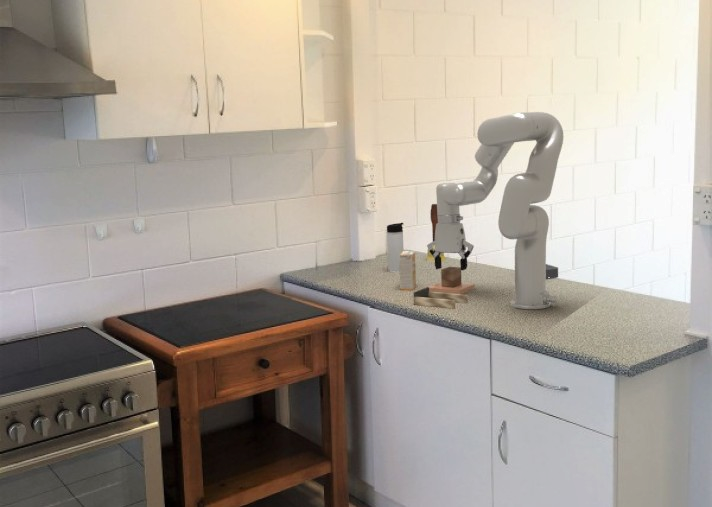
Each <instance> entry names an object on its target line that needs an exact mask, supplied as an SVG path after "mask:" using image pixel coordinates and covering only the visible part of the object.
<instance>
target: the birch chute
mask: <svg viewBox="0 0 712 507" xmlns="http://www.w3.org/2000/svg"><path fill="white" fill-rule="evenodd" d="M429 287H430V286H426V287H424V288H422V289H419V290H416V291H413V305H414V306H415V305H416V306H425V307H435V308H444V309H456V303H461V304H468V294H462V295H460V294H449V293H438V292H429Z"/></svg>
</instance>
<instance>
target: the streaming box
mask: <svg viewBox="0 0 712 507" xmlns="http://www.w3.org/2000/svg"><path fill="white" fill-rule="evenodd" d="M548 277H550V278H548ZM557 278H559V267H558V266H554V265H551V264H548V263H546V280H550V279H557Z"/></svg>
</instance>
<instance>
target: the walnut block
mask: <svg viewBox="0 0 712 507" xmlns="http://www.w3.org/2000/svg"><path fill="white" fill-rule="evenodd" d="M440 273H441V274H440V277H441V279H440V280H441V281H440V283H441V285H442V287H450V288H454V287H456V286H459V285H462V283H463V282H462V270H461V266H460V267H458V266H457V267H456V266H448V267H445V268H440Z"/></svg>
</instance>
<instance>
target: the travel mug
mask: <svg viewBox="0 0 712 507" xmlns="http://www.w3.org/2000/svg"><path fill="white" fill-rule="evenodd" d="M403 226H404V222H399V223H393V224H392V223H391V224H388V225H386V244H387V249H386V250H387V271H388V270H389V271H395V272H394V273H399V272H398V271H400V260H399V255H400V254H401V253H402V252H403V251H404V250H405V249H404V233H403V232H404V230H403V229H404V227H403ZM389 271H388V272H389Z"/></svg>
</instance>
